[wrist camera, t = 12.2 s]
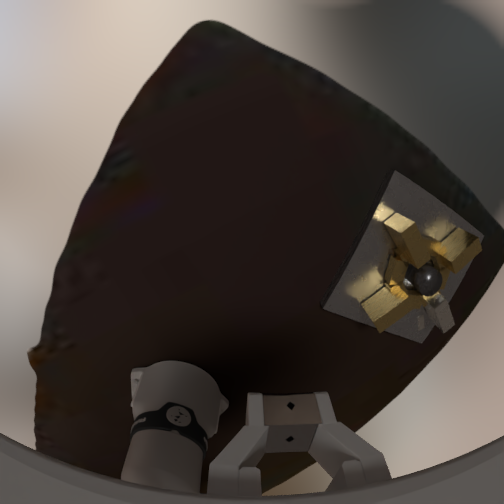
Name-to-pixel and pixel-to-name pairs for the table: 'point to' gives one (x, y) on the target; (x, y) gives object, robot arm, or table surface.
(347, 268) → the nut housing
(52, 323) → the table surface
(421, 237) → the gold propeller
